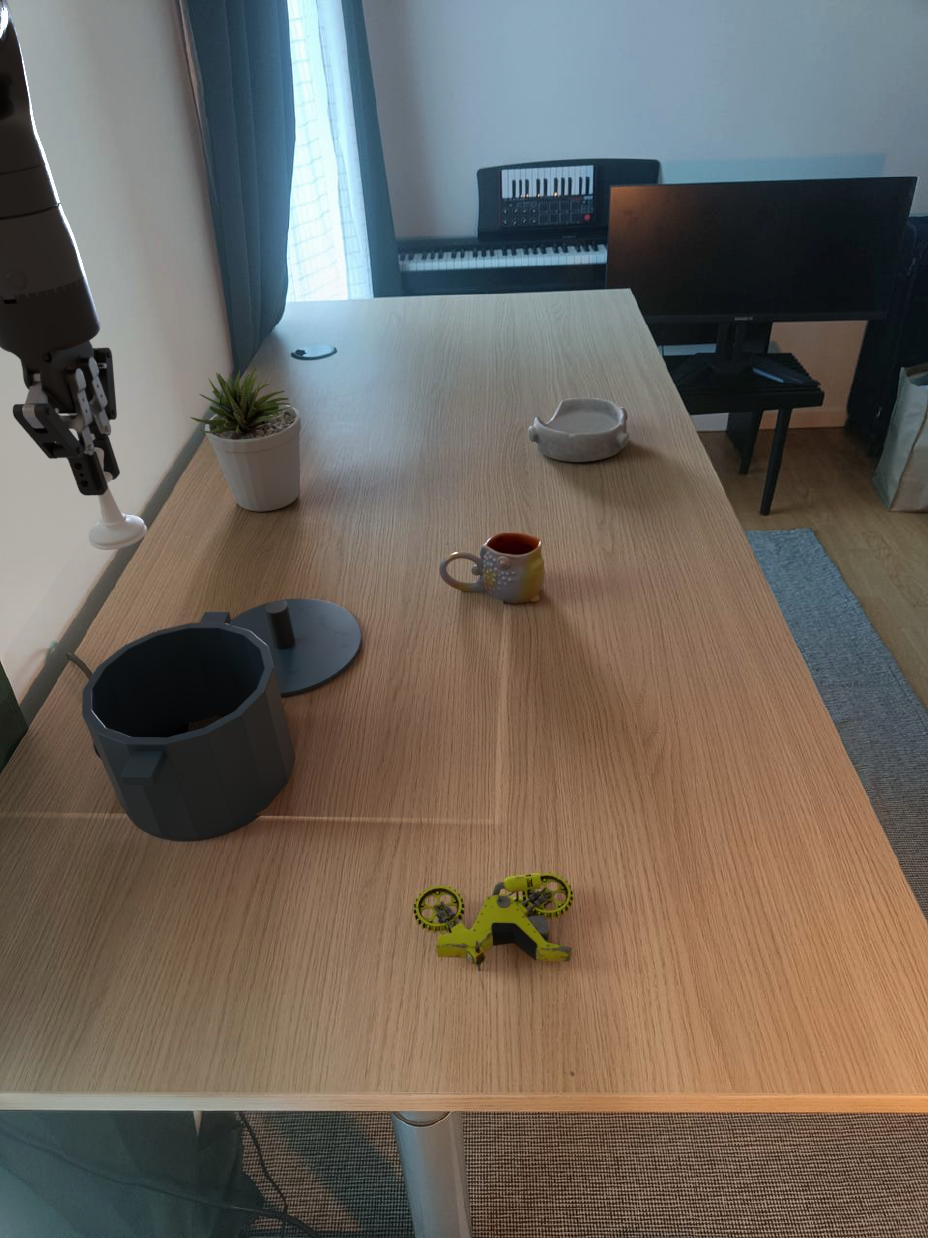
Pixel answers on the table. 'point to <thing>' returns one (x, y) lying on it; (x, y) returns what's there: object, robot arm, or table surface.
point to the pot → (198, 760)
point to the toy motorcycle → (499, 919)
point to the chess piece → (114, 520)
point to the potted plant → (255, 444)
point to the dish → (582, 430)
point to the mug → (503, 568)
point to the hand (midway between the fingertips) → (101, 484)
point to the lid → (304, 640)
